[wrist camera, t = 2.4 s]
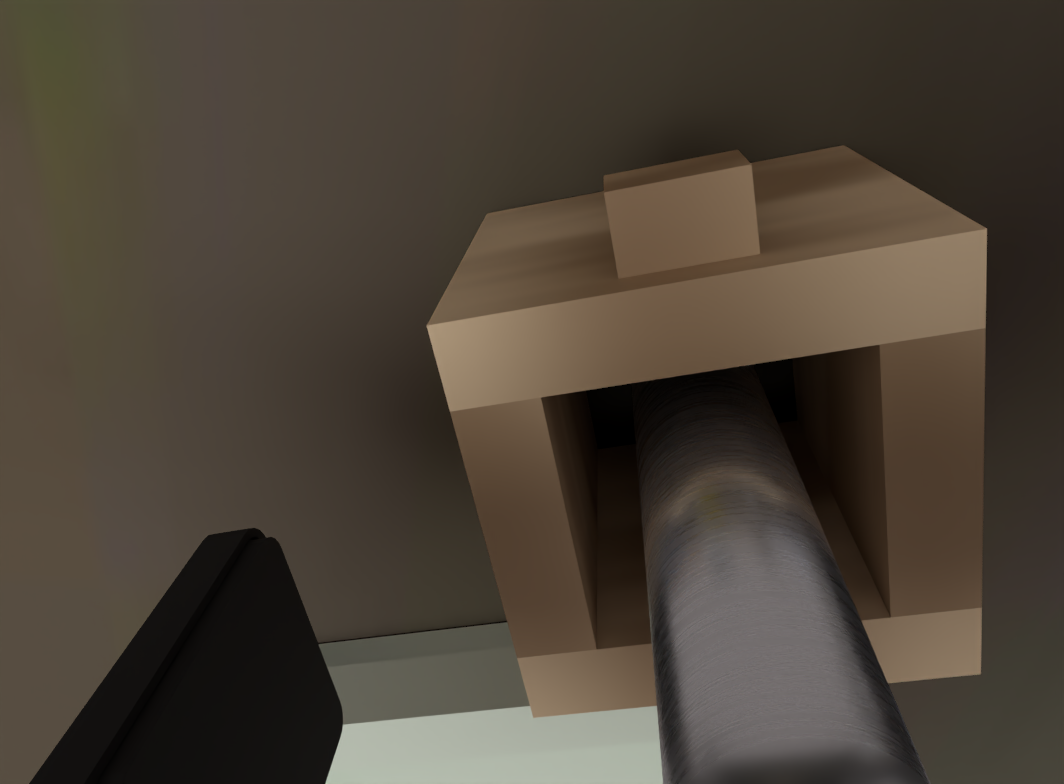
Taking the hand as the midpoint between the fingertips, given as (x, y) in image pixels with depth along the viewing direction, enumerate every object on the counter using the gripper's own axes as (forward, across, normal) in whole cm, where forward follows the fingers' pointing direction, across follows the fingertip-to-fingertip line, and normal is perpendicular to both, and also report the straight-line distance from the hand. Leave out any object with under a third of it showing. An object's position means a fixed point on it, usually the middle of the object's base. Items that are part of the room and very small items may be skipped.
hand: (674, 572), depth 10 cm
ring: (+6, -1, 0) cm, 6 cm away
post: (+6, -1, 0) cm, 6 cm away
